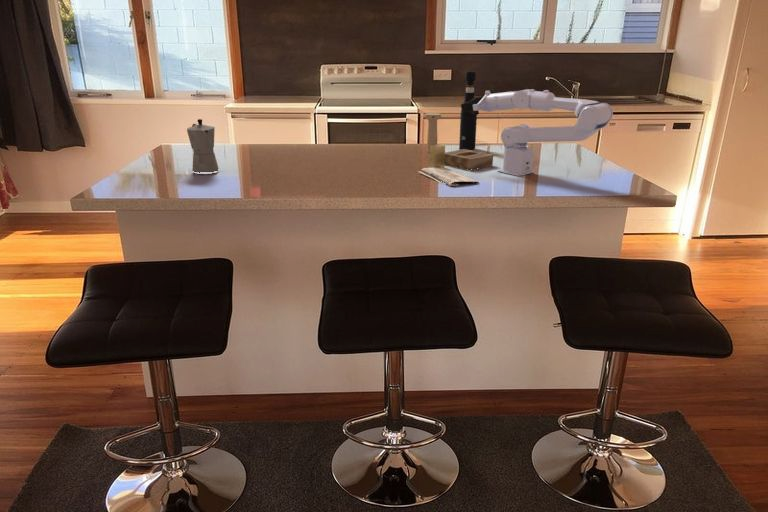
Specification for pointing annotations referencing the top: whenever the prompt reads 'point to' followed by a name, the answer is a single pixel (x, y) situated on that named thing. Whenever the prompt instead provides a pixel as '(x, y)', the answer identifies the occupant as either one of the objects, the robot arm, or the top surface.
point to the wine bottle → (468, 117)
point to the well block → (468, 159)
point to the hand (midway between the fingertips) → (468, 104)
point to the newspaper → (446, 176)
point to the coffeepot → (202, 147)
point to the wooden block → (437, 156)
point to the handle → (432, 129)
